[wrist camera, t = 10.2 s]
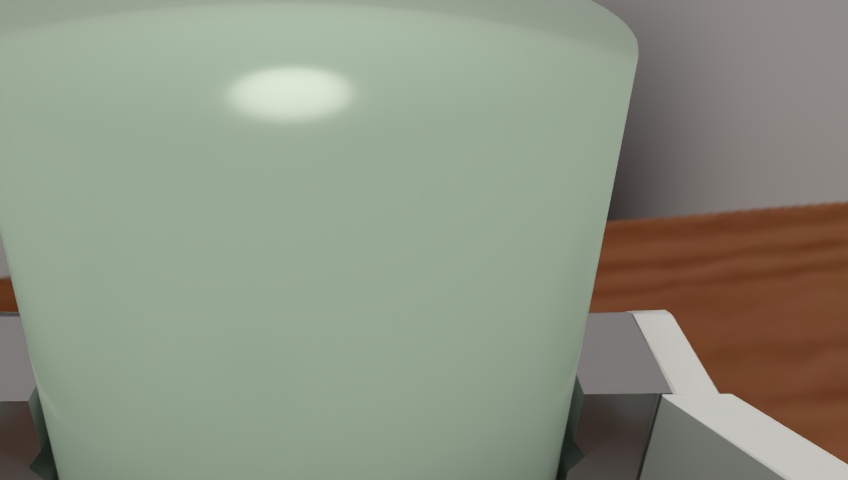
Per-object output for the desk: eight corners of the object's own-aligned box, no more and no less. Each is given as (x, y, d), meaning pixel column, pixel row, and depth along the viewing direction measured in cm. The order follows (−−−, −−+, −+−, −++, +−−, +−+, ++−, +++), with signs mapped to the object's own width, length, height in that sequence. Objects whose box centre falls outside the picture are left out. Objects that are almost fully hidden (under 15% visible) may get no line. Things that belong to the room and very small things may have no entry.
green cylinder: (97, 977, 10) (-208, 135, 4) (165, 583, 15) (62, -61, 9) (537, 921, 11) (764, 141, 5) (468, 563, 15) (545, -45, 10)
